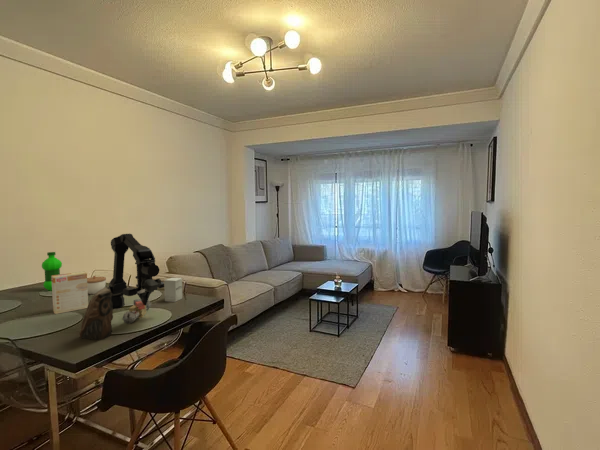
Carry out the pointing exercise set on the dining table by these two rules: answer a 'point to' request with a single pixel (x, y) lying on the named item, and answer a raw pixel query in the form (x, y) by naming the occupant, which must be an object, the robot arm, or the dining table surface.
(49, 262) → the plastic bottle
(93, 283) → the lidded bowl
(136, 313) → the valve body
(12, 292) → the dining table surface
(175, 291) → the supplement box
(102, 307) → the owl
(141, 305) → the lever
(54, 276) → the coffeecake box
